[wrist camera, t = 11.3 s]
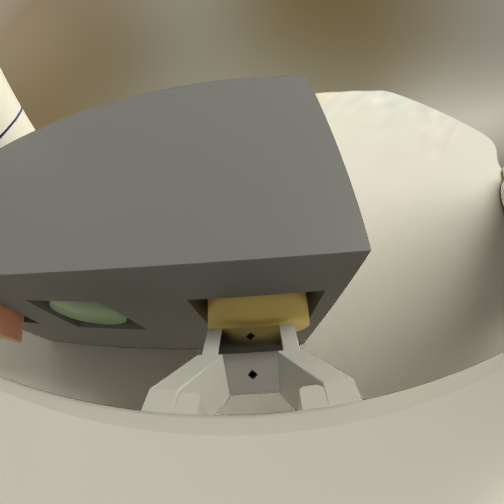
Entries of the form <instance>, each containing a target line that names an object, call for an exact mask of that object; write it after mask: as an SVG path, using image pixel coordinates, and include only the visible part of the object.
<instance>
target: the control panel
mask: <svg viewBox="0 0 504 504" xmlns="http://www.w3.org/2000/svg"><path fill="white" fill-rule="evenodd" d="M370 251H371V248H370V244H369V240H368V237H367V233H366V230H365V226H364V223H363V219H362V216H361V213H360V209H359V206H358V203H357V200H356V197H355V194H354V191H353V188H352V185H351V182H350V179H349V176H348V173H347V171H346V168H345V165H344V162H343V160H342V157H341V154H340V152H339V149H338V146H337V144H336V141H335V139H334V136H333V134H332V132H331V129H330V127H329V124H328V122H327V120H326V117H325V115H324V113H323V110H322V108H321V106H320V104H319V101H318V99H317V97H316V95H315V93H314V91H313V89H312V86H311V84H310V82H309V80H308V78H307V77H306V76H277V77H255V78H239V79H230V80H219V81H212V82H203V83H196V84H190V85H184V86H178V87H173V88H167V89H162V90H158V91H153V92H149V93H144V94H140V95H136V96H132V97H128V98H124V99H121V100H118V101H114V102H110V103H107V104H104V105H101V106H97V107H94V108H91V109H88V110H85V111H83V112H80V113H77V114H74V115H72V116H69V117H66V118H63V119H61V120H58V121H56V122H54V123H51V124H49V125H46V126H44V127H42V128H40V129H37V130H35V131H33V132H31V133H29V134H27V135H24V136H22V137H20V138H18V139H16V140H14V141H12V142H11V143H9V144H7V145H5V146H3V147H1V148H0V304H2V305H4V306H6V307H7V308H9V309H11V310H13V311H15V312H17V313H19V314H21V315H23V316H24V323H23V330H26V331H28V332H30V333H33V334H35V335H38V336H40V337H43V338H46V339H48V340H52V341H60V342H68V343H77V344H87V345H98V346H111V347H127V348H151V349H203V346H204V342H205V338H206V334H207V330H208V299H213V298H231V297H247V296H262V295H275V294H288V293H300V292H306V296H307V304H308V312H309V320H310V325H309V326H308V327H307V328H305V329H303V330H300V331H298V332H296V335H297V339H298V342H299V343H304V342H305V341H306V340H307V338H308V337H309V336H310V335H311V333H312V332H313V331H314V330H315V328H316V327H317V326H318V324H319V323H320V322H321V321H322V319H323V318H324V317H325V315H326V314H327V313H328V311H329V310H330V309H331V307H332V306H333V305H334V303H335V302H336V301H337V299H338V298H339V296H340V295H341V294H342V292H343V291H344V289H345V288H346V287H347V285H348V284H349V282H350V281H351V280H352V278H353V277H354V275H355V274H356V272H357V271H358V269H359V268H360V266H361V265H362V263H363V262H364V260H365V259H366V257H367V256H368V254H369V253H370ZM50 301H84V302H103V303H104V304H106V305H107V306H109V307H110V308H112V309H114V310H115V311H117V312H118V313H120V314H122V315H123V316H125V317H127V321H126V322H125V323H122V324H115V325H106V324H95V323H89V322H84V321H80V320H76V319H73V318H70V317H67V316H64V315H62V314H60V313H58V312H56V311H55V310H53V309H52V308H51V307H50V305H49V303H50Z"/></svg>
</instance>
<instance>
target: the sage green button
mask: <svg viewBox="0 0 504 504" xmlns="http://www.w3.org/2000/svg"><path fill="white" fill-rule="evenodd" d="M49 305H50V307H51V308H52V309H53V310H55V311H56V312H58V313H60V314H62V315H64V316H67V317H70V318H73V319H76V320H80V321H84V322H89V323H95V324H106V325H115V324H122V323H125V322H126V321H127V317H125V316H123V315H122V314H120V313H118V312H117V311H115V310H114V309H112V308H110V307H109V306H107V305H106V304H104V303H103V302H84V301H50V303H49Z"/></svg>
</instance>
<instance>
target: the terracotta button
mask: <svg viewBox="0 0 504 504" xmlns="http://www.w3.org/2000/svg"><path fill="white" fill-rule="evenodd" d="M23 323H24V316H23V315H21V314H19V313H17V312H15V311H13V310H11V309H9V308H7V307H6V306H4V305H2V304H0V338H4V339H7V340H11V341H15V342H21V339H22V331H23Z"/></svg>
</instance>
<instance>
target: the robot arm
mask: <svg viewBox="0 0 504 504" xmlns="http://www.w3.org/2000/svg"><path fill="white" fill-rule="evenodd" d="M503 176H504V168H503ZM501 199H502V203H503V207H504V180H503V183H502V185H501ZM277 392H280V394H281V395H282V396H283V397H284V398H285V399H286V400H287V401H288V402H289V404H290V405H291V406H292V407H293V408H294V409H295V410H296V411H290V412H279V413H266V414H248V415H215V414H216V412H217V411H218V410H219V409H220V408H221V407H222V405H223V404H224V403H225V402H226V401H227V399H228V398H229V397H230V395H241V394H256V393H277ZM0 504H504V352H502V353H500V354H498V355H496V356H494V357H492V358H490V359H487V360H485V361H483V362H481V363H478V364H476V365H474V366H471V367H469V368H467V369H464V370H462V371H459V372H456V373H454V374H451V375H449V376H446V377H443V378H440V379H437V380H434V381H431V382H428V383H425V384H422V385H419V386H416V387H412V388H409V389H406V390H402V391H398V392H395V393H391V394H387V395H383V396H379V397H375V398H370V399H366V400H362V397H361V395H360V393H359V390H358V388H357V386H356V383H355V381H354V379H353V378H352V377H350V376H349V375H347V374H345V373H344V372H342V371H340V370H339V369H337V368H335V367H334V366H332V365H330V364H329V363H327V362H325V361H324V360H322V359H320V358H319V357H317V356H315V355H314V354H312V353H310V352H309V351H307V350H306V349H300V346H299V342H298V339H297V335H296V331H295V327H294V324H293V323H289V324H281V325H272V326H262V327H242V328H213V329H208V330H207V334H206V338H205V342H204V346H203V350H202V354H201V355H197V356H195V357H194V358H193V359H191V360H190V361H188V362H187V363H186V364H184V365H183V366H181V367H180V368H179V369H177V370H176V371H174V372H173V373H172V374H170V375H169V376H167V377H166V378H164V379H163V380H161V381H160V382H159V383H157V384H156V385H154V386H153V387H151V388H150V389H149V392H148V394H147V397H146V399H145V402H144V404H143V407H142V409H141V410H133V409H125V408H119V407H112V406H106V405H101V404H95V403H90V402H86V401H81V400H76V399H72V398H68V397H64V396H60V395H56V394H52V393H49V392H45V391H42V390H38V389H35V388H32V387H29V386H26V385H23V384H20V383H17V382H14V381H11V380H8V379H6V378H3V377H1V376H0Z"/></svg>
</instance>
